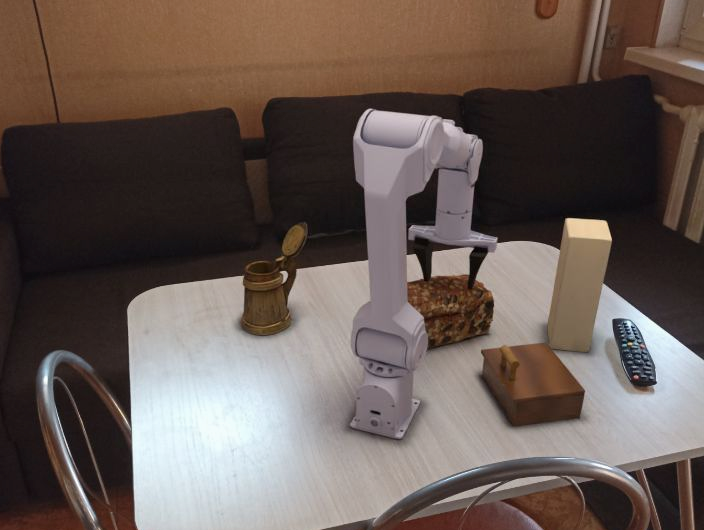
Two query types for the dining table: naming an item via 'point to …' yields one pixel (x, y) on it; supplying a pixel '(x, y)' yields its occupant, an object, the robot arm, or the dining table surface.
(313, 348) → the dining table surface
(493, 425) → the dining table surface
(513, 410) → the trinket box
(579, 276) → the beige tall block
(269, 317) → the wooden mug
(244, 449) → the dining table surface
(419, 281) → the bread
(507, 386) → the box lid
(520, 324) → the dining table surface
